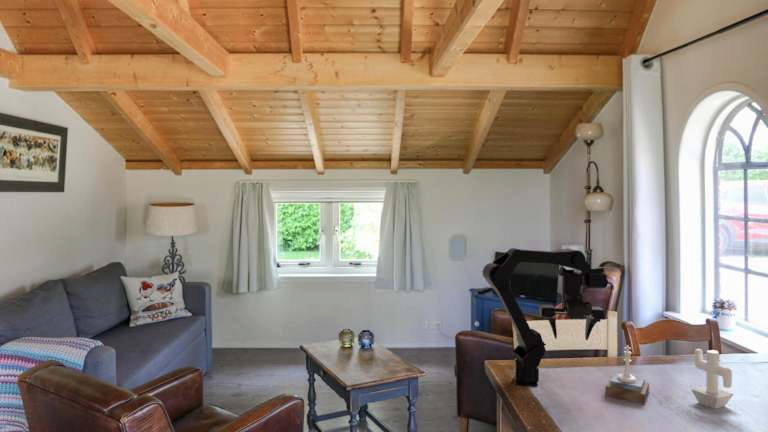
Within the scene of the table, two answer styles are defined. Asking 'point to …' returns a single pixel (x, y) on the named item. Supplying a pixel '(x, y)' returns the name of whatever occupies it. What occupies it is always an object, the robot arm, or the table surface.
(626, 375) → the chess piece
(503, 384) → the table surface
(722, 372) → the figurine
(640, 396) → the stepped pedestal base
